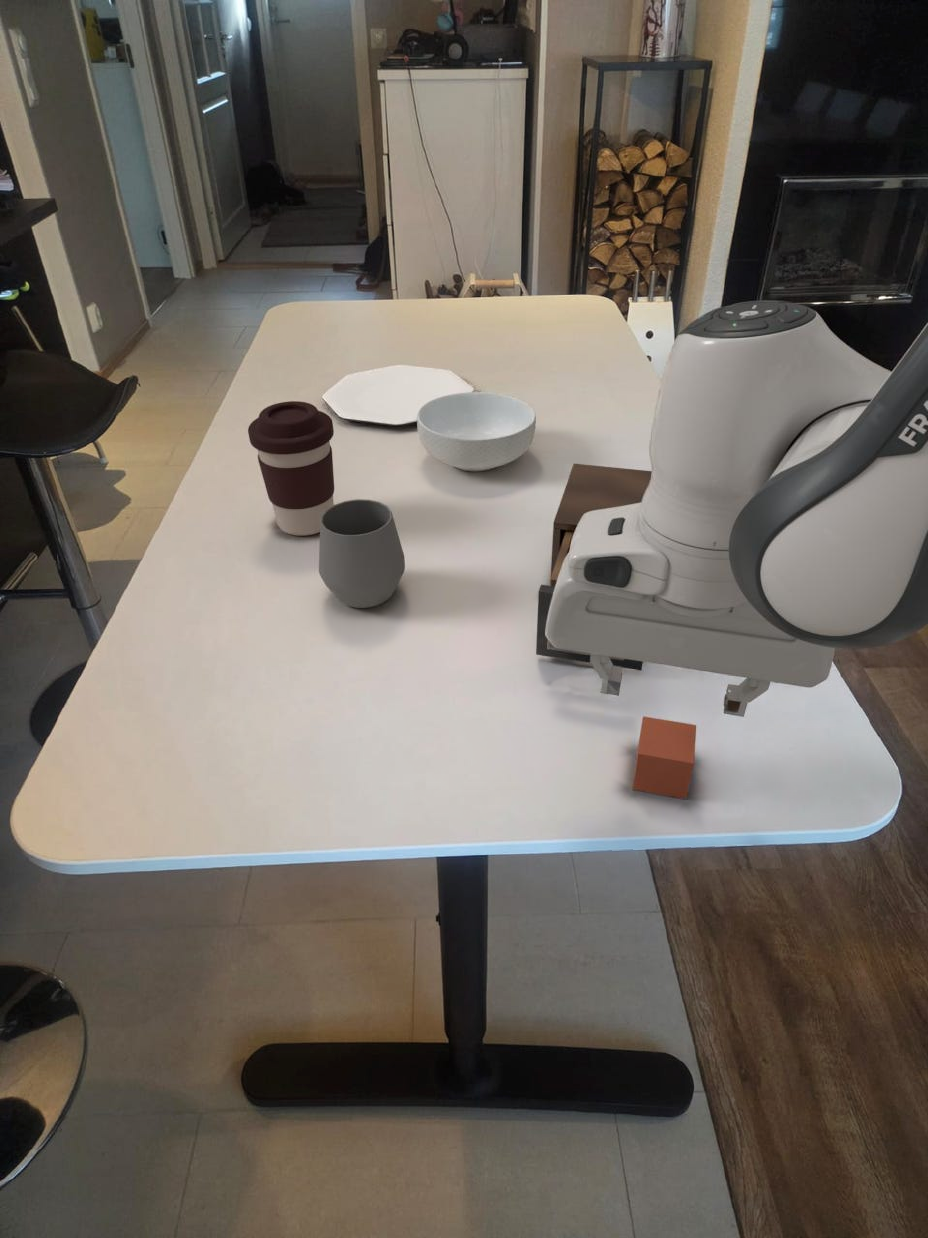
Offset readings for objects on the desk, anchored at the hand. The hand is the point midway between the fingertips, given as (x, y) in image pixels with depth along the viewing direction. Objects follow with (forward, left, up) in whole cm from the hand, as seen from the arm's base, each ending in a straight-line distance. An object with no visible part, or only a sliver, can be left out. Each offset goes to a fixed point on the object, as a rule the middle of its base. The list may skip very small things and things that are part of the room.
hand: (670, 699), depth 63 cm
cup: (+34, -19, -9) cm, 40 cm away
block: (0, 0, -9) cm, 9 cm away
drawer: (+8, -16, -8) cm, 20 cm away
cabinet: (+8, -30, -9) cm, 32 cm away
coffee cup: (+47, -32, -9) cm, 57 cm away
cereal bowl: (+30, -54, -9) cm, 62 cm away
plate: (+48, -72, -9) cm, 87 cm away
